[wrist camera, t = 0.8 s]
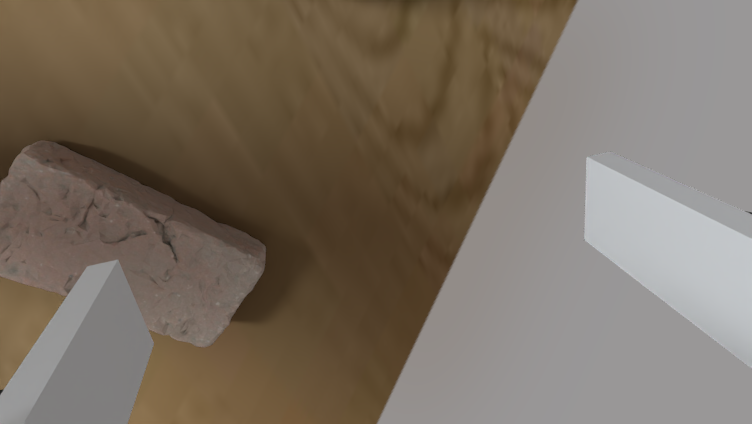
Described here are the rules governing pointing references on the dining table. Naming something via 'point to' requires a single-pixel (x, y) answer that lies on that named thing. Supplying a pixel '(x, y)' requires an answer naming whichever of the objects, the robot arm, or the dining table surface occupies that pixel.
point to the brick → (123, 242)
